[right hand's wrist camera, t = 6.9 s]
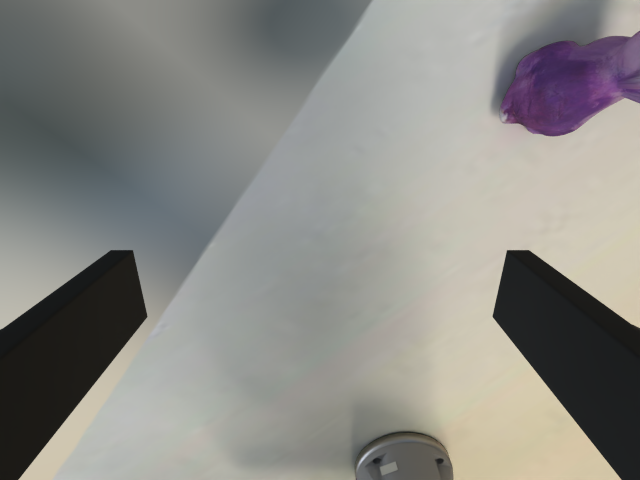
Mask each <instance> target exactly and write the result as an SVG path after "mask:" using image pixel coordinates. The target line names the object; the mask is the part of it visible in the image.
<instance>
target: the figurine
mask: <svg viewBox="0 0 640 480" xmlns="http://www.w3.org/2000/svg"><path fill="white" fill-rule="evenodd" d="M623 98H628V99H630V100H633V101H635V102H638V103H640V31H639V32H637V33H636V34H635V35H634V36H632V37H625V36H609V37H605V38H602V39H599V40H596V41H594V42H592V43H590V44H588V45H586V46H579V45H577V44H576V43H575V42H573V41H561V42H556V43H553V44H550V45H547V46H545V47H543V48H541V49H539V50H537V51H534V52H532V53H530V54H528V55H527V56H525V57H524V58H523V59H522V60H521V61H520V62H519V65H518V67H517V70H516V77H515V79H514V82H513V83H512V84H511V86H510V87H509V89H508V91H507V93H506V96H505V98H504V100H503V102H502V104H501V107H500V112H499V117H500V121H501V122H502V123H505V124H512V123H519V124H521V125H523V126H525V127H526V128H527V130H528V131H530V132H531V133H533V134H543V135H546V136H560V135H565V134H567V133H570V132H573V131H575V130H576V129H578V128H579V127H580V126H582V125H583V124H584V123H585V122H587V121H588V120H589V119H590V118H591V117H593V116H594V115H596V114H597V113H599V112H600V111H602V110H603V109H605V108H607V107H609V106H610V105H612V104H614V103H616V102H618V101H620V100H622V99H623Z"/></svg>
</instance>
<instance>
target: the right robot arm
mask: <svg viewBox="0 0 640 480" xmlns="http://www.w3.org/2000/svg"><path fill="white" fill-rule="evenodd" d="M146 318H147V313H146V308H145V303H144V299H143V294H142V290H141V285H140V281H139V276H138V272H137V267H136V263H135V258H134V253H133V250H111V251H109V252H108V253H107V254H105V255H104V256H102V257H101V258H100V259H98V260H97V261H96V262H94V263H93V264H91V265H90V266H89V267H87V268H86V269H85V270H83V271H82V272H80V273H79V274H78V275H76V276H75V277H73V278H72V279H71V280H69V281H68V282H67V283H65V284H64V285H63V286H61V287H60V288H58V289H57V290H56V291H54V292H53V293H51V294H50V295H49V296H47V297H46V298H44V299H43V300H42V301H40V302H39V303H38V304H36V305H35V306H33V307H32V308H31V309H29V310H28V311H27V312H25V313H24V314H22V315H21V316H20V317H18V318H17V319H15V320H14V321H13V322H11V323H10V324H9V325H7V326H6V327H4V328H3V329H1V330H0V480H18V479H19V478H20V477H21V476H22V474H23V473H24V472H25V471H26V469H27V468H28V467H29V465H30V464H31V463H32V462H33V460H34V459H35V458H36V457H37V455H38V454H39V453H40V452H41V450H42V449H43V448H44V447H45V445H46V444H47V443H48V442H49V440H50V439H51V438H52V437H53V435H54V434H55V433H56V431H57V430H58V429H59V428H60V426H61V425H62V424H63V423H64V421H65V420H66V419H67V418H68V416H69V415H70V414H71V413H72V411H73V410H74V409H75V407H76V406H77V405H78V404H79V402H80V401H81V400H82V399H83V397H84V396H85V395H86V394H87V392H88V391H89V390H90V389H91V387H92V386H93V385H94V384H95V382H96V381H97V380H98V378H99V377H100V376H101V375H102V373H103V372H104V371H105V370H106V368H107V367H108V366H109V365H110V363H111V362H112V361H113V359H114V358H115V357H116V356H117V354H118V353H119V352H120V351H121V349H122V348H123V347H124V346H125V344H126V343H127V342H128V341H129V339H130V338H131V337H132V336H133V334H134V333H135V332H136V331H137V329H138V328H139V327H140V325H141V324H142V323H143V322H144V320H145V319H146ZM493 318H494V319H495V320H496V322H497V323H498V324H499V325H500V327H501V328H502V329H503V331H504V332H505V333H506V334H507V336H508V337H509V338H510V339H511V341H512V342H513V343H514V344H515V346H516V347H517V348H518V349H519V351H520V352H521V353H522V354H523V356H524V357H525V358H526V360H527V361H528V362H529V363H530V365H531V366H532V367H533V368H534V370H535V371H536V372H537V373H538V375H539V376H540V377H541V378H542V380H543V381H544V382H545V384H546V385H547V386H548V387H549V389H550V390H551V391H552V392H553V394H554V395H555V396H556V397H557V399H558V400H559V401H560V402H561V404H562V405H563V406H564V407H565V409H566V410H567V411H568V413H569V414H570V415H571V416H572V418H573V419H574V420H575V421H576V423H577V424H578V425H579V426H580V428H581V429H582V430H583V431H584V433H585V434H586V435H587V437H588V438H589V439H590V440H591V442H592V443H593V444H594V445H595V447H596V448H597V449H598V450H599V452H600V453H601V454H602V455H603V457H604V458H605V459H606V461H607V462H608V463H609V464H610V466H611V467H612V468H613V469H614V471H615V472H616V473H617V474H618V476H619V477H620V478H621V479H622V480H640V328H638V327H636V326H634V325H631V324H630V323H629V322H627V321H626V320H625V319H623V318H622V317H620V316H619V315H618V314H616V313H615V312H613V311H612V310H611V309H609V308H608V307H607V306H605V305H604V304H602V303H601V302H600V301H598V300H597V299H596V298H594V297H593V296H591V295H590V294H589V293H587V292H586V291H584V290H583V289H582V288H580V287H579V286H578V285H576V284H575V283H573V282H572V281H571V280H569V279H568V278H567V277H565V276H564V275H562V274H561V273H560V272H558V271H557V270H555V269H554V268H553V267H551V266H550V265H549V264H547V263H546V262H544V261H543V260H542V259H540V258H539V257H538V256H536V255H535V254H533V253H532V252H531V251H529V250H507V253H506V258H505V262H504V267H503V272H502V276H501V281H500V285H499V290H498V294H497V299H496V303H495V308H494V313H493ZM355 473H356V480H453V468H452V464H451V461H450V459H449V456H448V453H447V451H446V450H445V448H444V447H443V446H442V445H441V444H440V443H439V442H437V441H436V440H434V439H433V438H430V437H428V436H425V435H422V434H417V433H396V434H391V435H387V436H384V437H381V438H379V439H377V440H375V441H373V442H371V443H370V444H369V445H367V446H366V447H365V448H364V449H363V450H362V451H361V453H360V454H359V456H358V458H357V460H356V464H355Z"/></svg>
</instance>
